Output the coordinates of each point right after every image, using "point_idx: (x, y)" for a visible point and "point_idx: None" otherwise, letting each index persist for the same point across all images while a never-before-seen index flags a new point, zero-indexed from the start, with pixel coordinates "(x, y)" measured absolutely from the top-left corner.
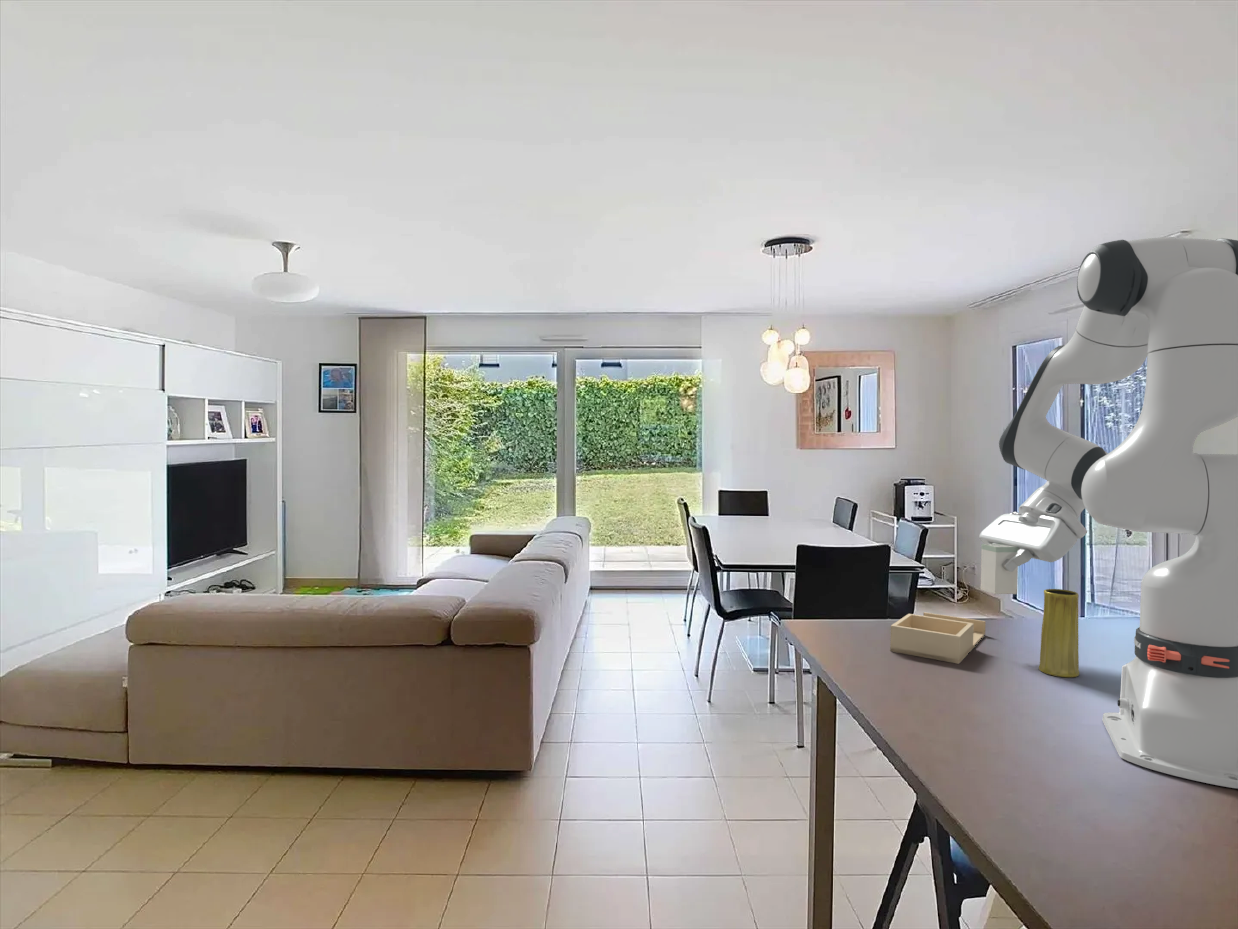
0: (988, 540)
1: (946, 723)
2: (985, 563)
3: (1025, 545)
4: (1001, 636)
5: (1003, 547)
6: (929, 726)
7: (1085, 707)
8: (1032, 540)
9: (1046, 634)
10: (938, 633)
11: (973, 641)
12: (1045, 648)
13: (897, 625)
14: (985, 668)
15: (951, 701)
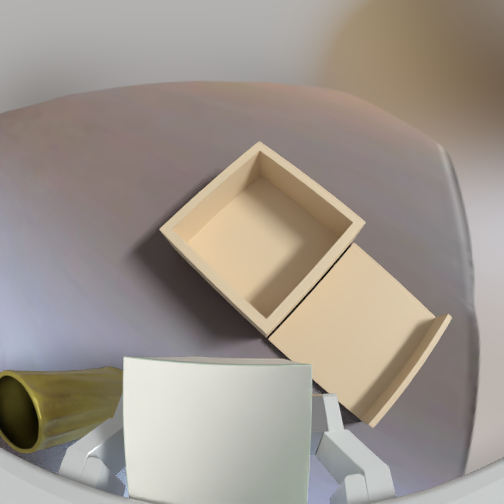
0: (444, 484)
1: (37, 143)
2: (254, 361)
3: (31, 470)
4: None
5: (123, 412)
6: (40, 129)
7: (12, 307)
8: (3, 497)
9: (72, 371)
10: (190, 200)
11: (297, 357)
12: (90, 371)
13: (266, 156)
14: (146, 282)
15: (64, 165)
